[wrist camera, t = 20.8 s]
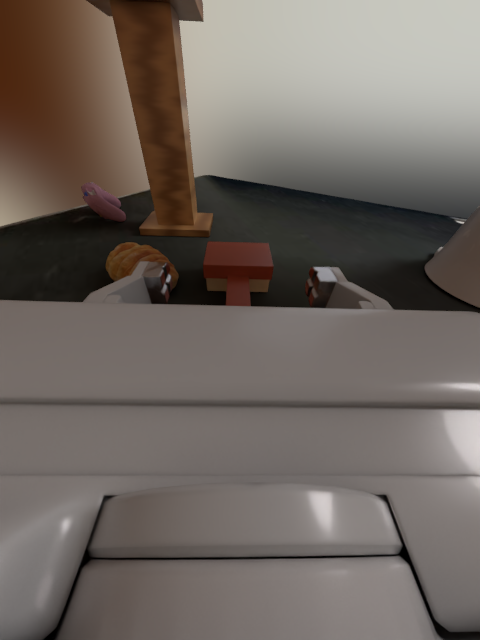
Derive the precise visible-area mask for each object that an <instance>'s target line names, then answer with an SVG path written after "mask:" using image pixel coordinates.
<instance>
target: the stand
mask: <svg viewBox="0 0 480 640" xmlns="http://www.w3.org/2000/svg"><path fill="white" fill-rule="evenodd" d="M87 1H88V2H89V3H91V4H92V5H94V6H95V7H96V8H98V9H99V10H101V11H102V12H103V13H105V14H106V15H108V16H113V20H114V24H115V29H116V34H117V38H118V43H119V47H120V52H121V56H122V61H123V66H124V70H125V75H126V79H127V84H128V88H129V93H130V98H131V102H132V107H133V112H134V116H135V120H136V125H137V130H138V134H139V139H140V144H141V148H142V153H143V157H144V162H145V167H146V171H147V176H148V180H149V185H150V190H151V194H152V199H153V203H154V208H155V211H153V212H152V213H151V214H150V215H149V216H148V218H147V219H146V220H145V221H144V223H143V224H142V225H141V226H140V227H139V231H140V234H141V235H157V236H192V237H209V236H210V231H211V227H212V222H213V213H197V205H196V194H195V184H194V173H193V163H192V152H191V142H190V132H189V120H188V110H187V99H186V89H185V78H184V69H183V57H182V48H181V36H180V27H179V20H183V21H202V22H203V3H202V0H87Z"/></svg>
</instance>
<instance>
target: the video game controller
mask: <svg viewBox="0 0 480 640" xmlns="http://www.w3.org/2000/svg"><path fill="white" fill-rule="evenodd" d="M81 188H82V191H83V193H84V196H83V199H84V200H85V201H86V203H87V204H88V205H89V206H90V207H91V208H92V209H93V210H94V211H95V212H96V213H97V214H99V215H100V216H101V217H103V218H104V219H107V218H108V219H111V220H114V221H118V222H123V221H125V220H126V215H125V213H124V212H123V211H122V210H121V209H119V208H120V206H121V203H120V201H119V200H118V199H117V198H116V197H115V196H113V195H111V194H109V193H107V192H105V191H104V190H103V189H101V188H100V187H99V186H98V185H96V184H94V183H93V182H91V183H86V184H84V185H83V186H82V187H81Z"/></svg>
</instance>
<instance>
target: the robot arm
mask: <svg viewBox="0 0 480 640" xmlns="http://www.w3.org/2000/svg"><path fill="white" fill-rule="evenodd" d="M169 272H170V266H169V264H168V262H149V261H141V262H139V264H138V265H137V267H136V268H135V270H134V271H133V273H132V274H131V276H126V277H124V278H122V279H120V280H118V281H116V282H114V283H111V284H109V285H107V286H105V287H103V288H101V289H99V290H96V291H94V292H92V293H90V294H89V295H88V296H87V298H86V299H85V300H84V301H83V302H51V301H15V300H0V640H480V313H477V312H468V311H423V310H394V309H393V308H392V307H391V306H390V304H389V303H388V302H387V301H386V300H384V299H382V298H380V297H378V296H376V295H374V294H372V293H370V292H369V291H367V290H365V289H363V288H361V287H359V286H357V285H355V284H353V283H351V282H348V281H347V280H346V278H345V276H344V275H343V273H342V272H341V270H340V269H339V268H338V267H311V269H310V271H309V276H310V278H309V279H308V280H307V281H306V286H305V292H306V295H307V296H308V297H309V300H308V301H309V303H310V306H311V308H298V307H257V306H216V305H176V304H167V302H168V300H169V293H171V291H172V287H173V281H172V276H171V275H170V274H169ZM425 272H426V274H427V275H428V277H429V278H430V279H431V280H432V281H433V282H434V283H435V284H436V285H438V286H439V287H440V288H442V289H443V290H445V291H446V292H448V293H450V294H451V295H453V296H455V297H457V298H459V299H461V300H463V301H465V302H467V303H469V304H471V305H474V306H476V307H479V308H480V206H479V207H478V208H477V209H476V210H475V211H474V212H473V213H472V215H471V216H470V217H469V218H468V219H467V220H466V221H465V223H464V224H463V225H462V226H461V227H460V228H459V230H458V231H457V232H456V233H455V234H454V235H453V237H452V238H451V239H450V240H449V241H448V242H447V244H446V245H445V246H444V247H441V248H439V249H438V250H437V251H436V252H435V254H434V257H433V258H432V259H431V260H430V261H429V262H427V263H426V265H425Z"/></svg>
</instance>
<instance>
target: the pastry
mask: <svg viewBox="0 0 480 640" xmlns="http://www.w3.org/2000/svg"><path fill="white" fill-rule="evenodd" d="M141 261H149V262H168V264H169V266H170V272H169V274H170V275H171V276H172V281H173V287H172V289H173V288H174V287H175V286H176V284H177V281H178V277H179V274H178V273H177V272H176V270H175V269H174V265H173V264H171V263H170V262H169V260H168V259H167V257H165V256H164V255H163V254H162V253H160V252H159V251H158V250H156V249H154V248H152V247H151V246H149V245H142V246H140V245H138V244H137V243H133V242H130V243H128V242H126V243H123V244H120V245H118V246H117V247H116V248H115V249H114V250H113V251H111V252H110V254H109V256H108V258H107V262H106V270H107V271H108V273H109V275H110V277H111V279H113V280H114V281H115V282H116V281H118V280H120V279H122V278H124V277H126V276H131V274H132V273H133V271H134V270H135V268H136V267H137V265H138V264H139V262H141Z"/></svg>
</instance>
